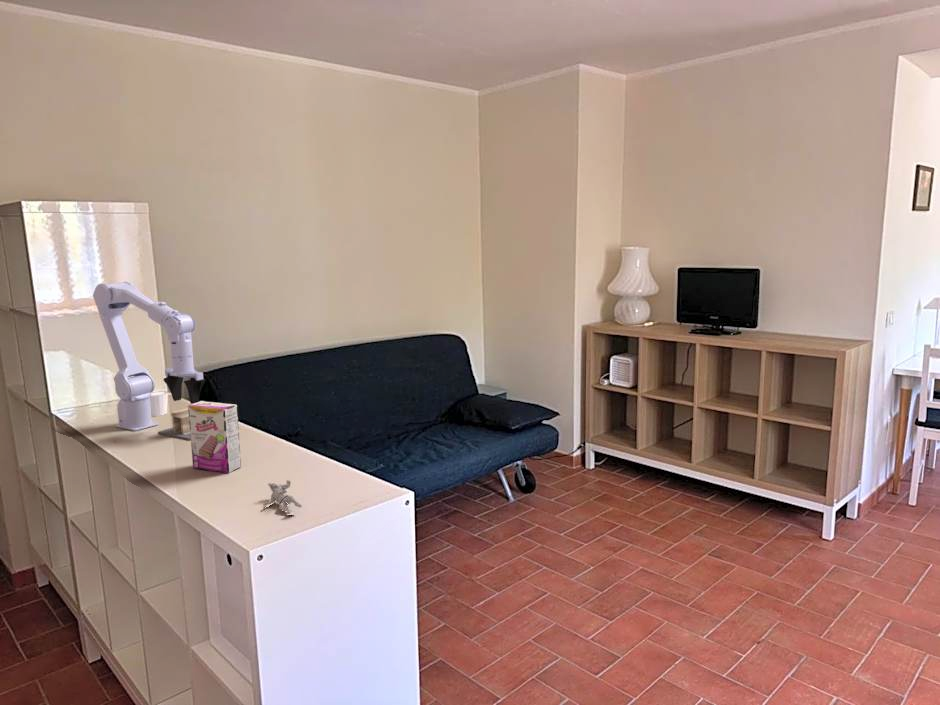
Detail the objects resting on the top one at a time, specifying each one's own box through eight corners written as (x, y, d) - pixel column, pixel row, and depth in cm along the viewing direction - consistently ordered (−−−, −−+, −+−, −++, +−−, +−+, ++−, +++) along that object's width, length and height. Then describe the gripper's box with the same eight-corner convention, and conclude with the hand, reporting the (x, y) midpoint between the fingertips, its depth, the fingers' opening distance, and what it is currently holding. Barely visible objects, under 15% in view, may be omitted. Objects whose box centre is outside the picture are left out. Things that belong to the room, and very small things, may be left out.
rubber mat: (158, 433, 190) (157, 431, 190) (187, 425, 199) (187, 423, 199) (189, 440, 184) (189, 438, 184) (218, 431, 192) (218, 429, 192)
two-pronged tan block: (172, 432, 189) (171, 412, 188) (191, 426, 195) (190, 407, 194) (182, 434, 187) (181, 414, 186) (201, 428, 193) (200, 409, 192)
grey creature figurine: (275, 525, 130) (248, 492, 138) (289, 533, 134) (263, 500, 142) (302, 495, 132) (274, 464, 140) (315, 504, 136) (288, 473, 143)
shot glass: (173, 411, 215) (171, 391, 214) (161, 417, 208) (160, 396, 207) (154, 411, 216) (152, 390, 215) (141, 416, 209) (139, 395, 208)
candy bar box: (191, 469, 160) (186, 405, 157) (206, 462, 165) (201, 400, 162) (228, 474, 157) (224, 408, 154) (242, 467, 161) (238, 403, 159)
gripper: (153, 356, 188) (157, 401, 190) (186, 360, 181) (190, 407, 183) (175, 352, 194) (178, 396, 196) (207, 356, 187) (211, 402, 189)
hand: (185, 401), depth 190 cm, fingers open, 7 cm apart
